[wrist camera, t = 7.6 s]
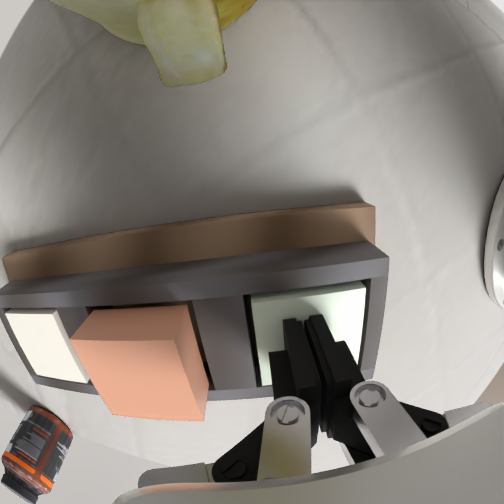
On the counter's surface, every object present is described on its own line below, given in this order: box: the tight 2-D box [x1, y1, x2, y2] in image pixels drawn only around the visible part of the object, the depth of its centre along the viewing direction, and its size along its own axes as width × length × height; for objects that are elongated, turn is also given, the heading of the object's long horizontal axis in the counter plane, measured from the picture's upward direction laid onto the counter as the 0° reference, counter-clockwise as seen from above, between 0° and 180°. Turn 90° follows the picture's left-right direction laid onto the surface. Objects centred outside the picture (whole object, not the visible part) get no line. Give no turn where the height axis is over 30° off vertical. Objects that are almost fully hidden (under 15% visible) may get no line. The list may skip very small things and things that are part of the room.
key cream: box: [5, 307, 90, 383], centre depth 13 cm, size 5×5×2 cm
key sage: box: [251, 280, 366, 386], centre depth 12 cm, size 5×5×2 cm
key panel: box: [0, 202, 389, 401], centre depth 13 cm, size 22×10×4 cm, turn 96°
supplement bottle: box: [1, 407, 73, 504], centre depth 14 cm, size 6×6×11 cm
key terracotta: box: [70, 305, 209, 421], centre depth 11 cm, size 5×5×2 cm
